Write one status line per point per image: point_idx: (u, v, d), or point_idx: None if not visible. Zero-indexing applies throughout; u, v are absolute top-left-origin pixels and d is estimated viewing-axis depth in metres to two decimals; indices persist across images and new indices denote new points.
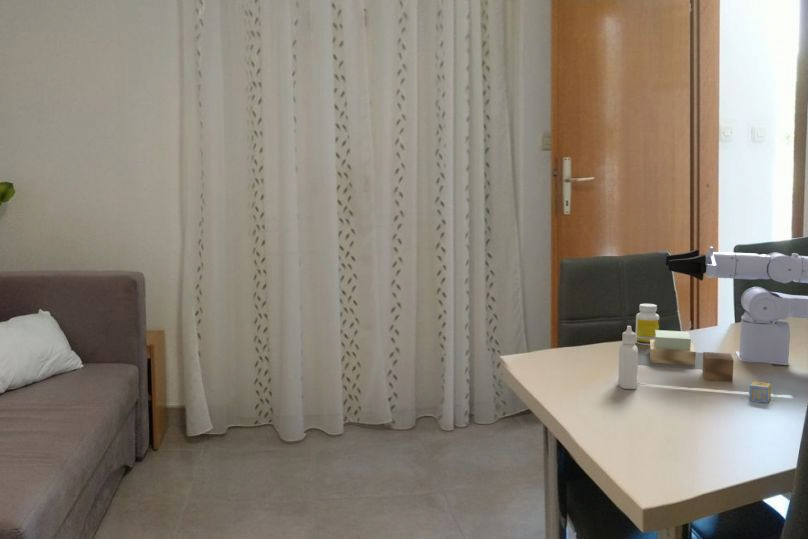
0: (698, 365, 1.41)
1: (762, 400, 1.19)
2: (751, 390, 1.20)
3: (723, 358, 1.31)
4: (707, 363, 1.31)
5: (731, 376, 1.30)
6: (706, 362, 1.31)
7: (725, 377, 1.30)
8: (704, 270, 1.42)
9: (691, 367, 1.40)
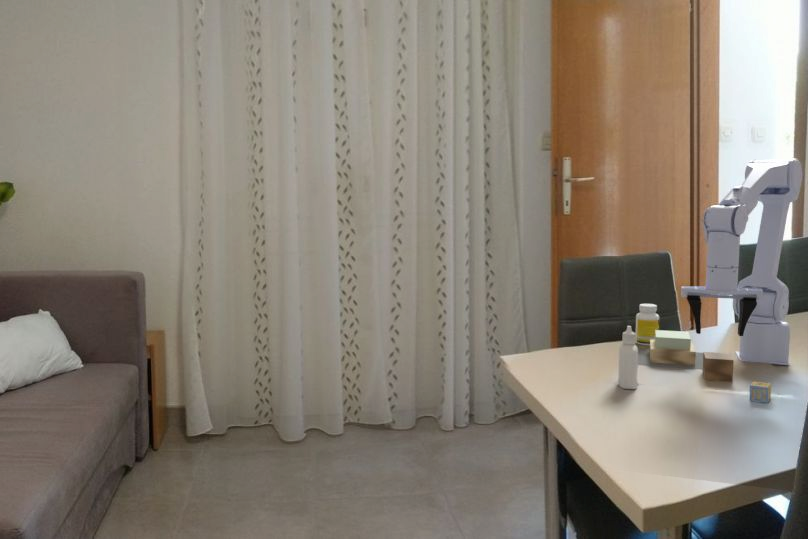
0: (698, 365, 1.41)
1: (762, 400, 1.19)
2: (751, 390, 1.20)
3: (723, 358, 1.31)
4: (707, 363, 1.31)
5: (731, 376, 1.30)
6: (706, 362, 1.31)
7: (725, 377, 1.30)
8: None
9: (691, 367, 1.40)
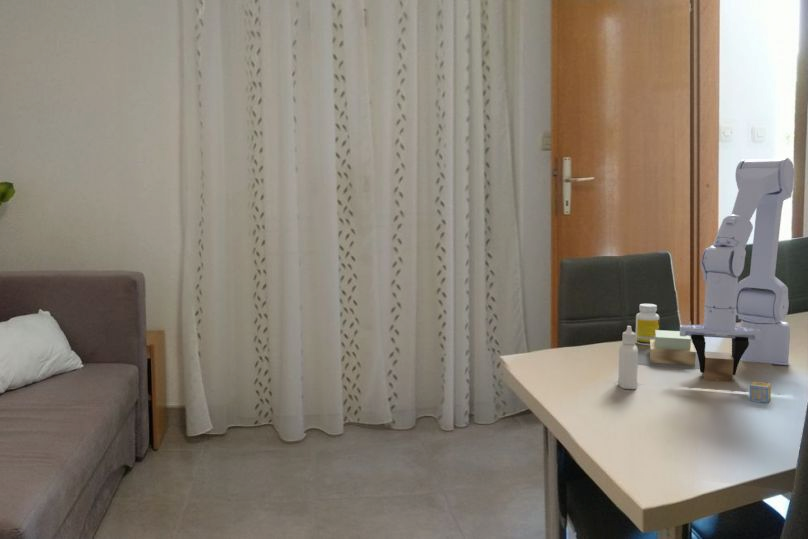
0: (698, 365, 1.41)
1: (762, 400, 1.19)
2: (751, 390, 1.20)
3: (723, 357, 1.30)
4: (707, 363, 1.31)
5: (731, 375, 1.30)
6: (706, 361, 1.31)
7: (725, 377, 1.30)
8: None
9: (691, 367, 1.40)
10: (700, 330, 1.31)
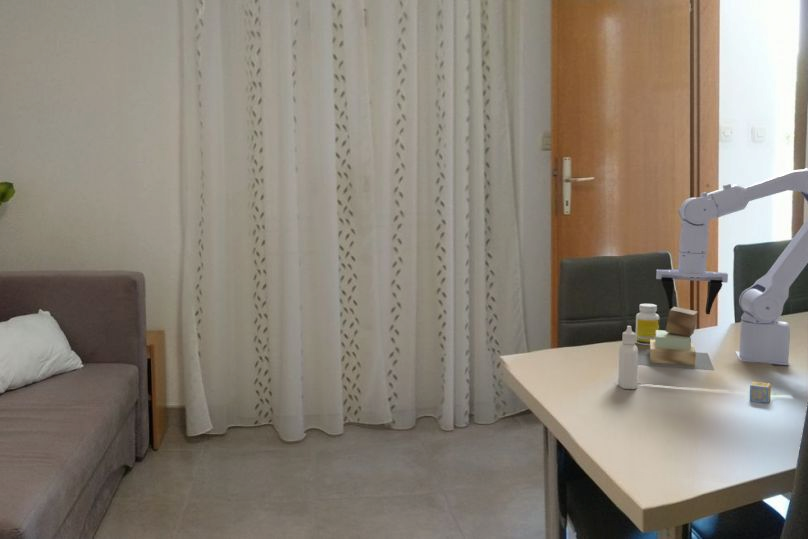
0: (698, 365, 1.41)
1: (762, 400, 1.19)
2: (751, 390, 1.20)
3: (686, 312, 1.44)
4: (670, 314, 1.45)
5: (689, 329, 1.43)
6: (669, 313, 1.45)
7: (684, 329, 1.44)
8: None
9: (691, 367, 1.40)
10: (674, 273, 1.46)
